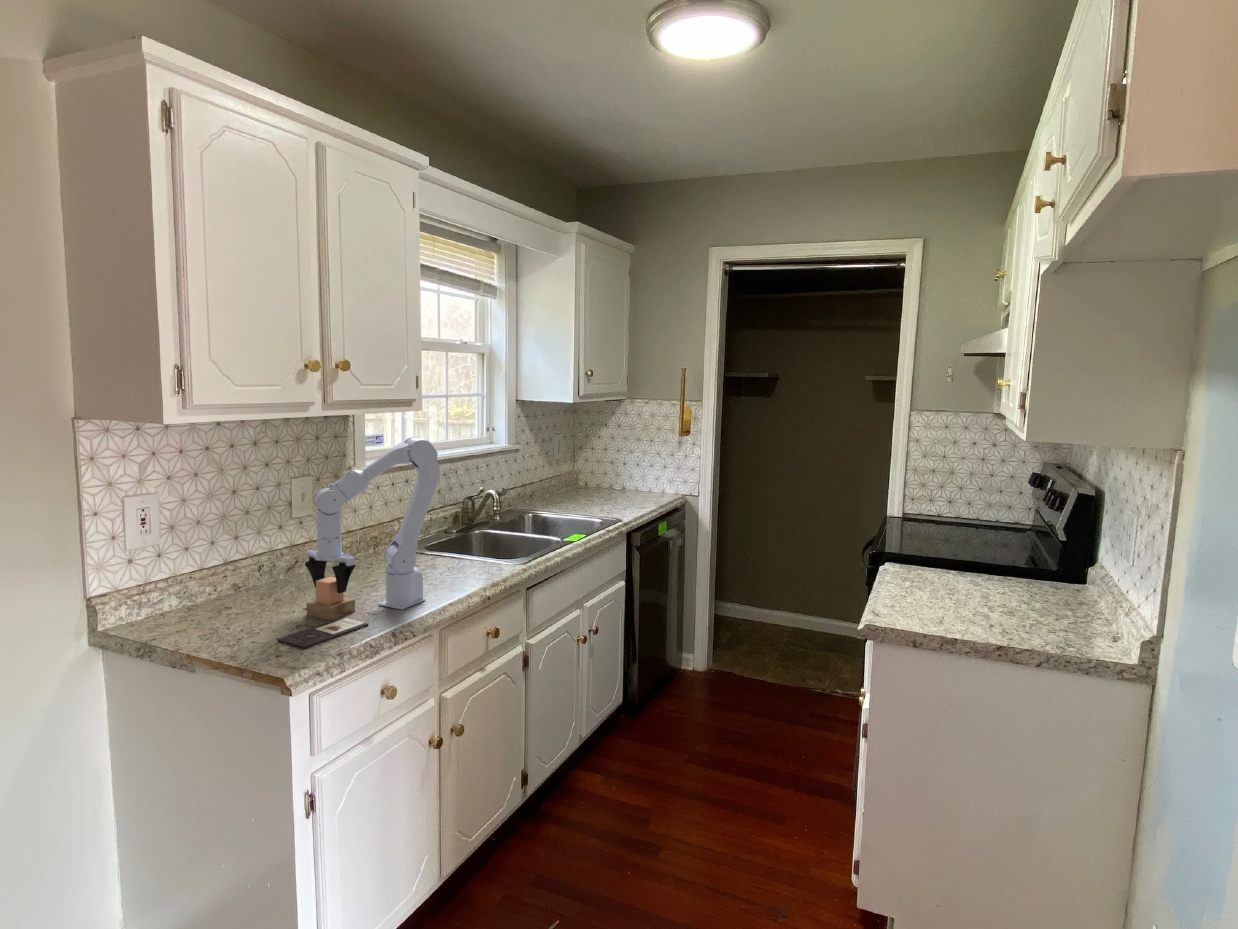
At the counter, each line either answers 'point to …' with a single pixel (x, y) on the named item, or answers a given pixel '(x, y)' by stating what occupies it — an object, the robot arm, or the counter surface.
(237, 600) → the counter surface
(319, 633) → the chocolate bar
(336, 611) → the walnut base block
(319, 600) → the terracotta block
